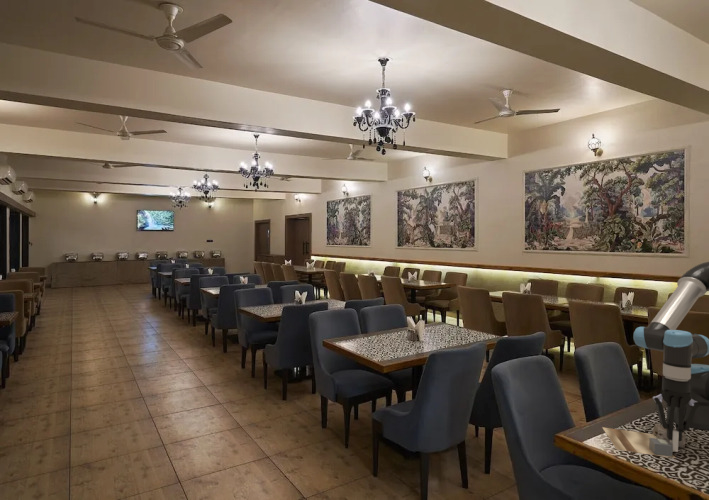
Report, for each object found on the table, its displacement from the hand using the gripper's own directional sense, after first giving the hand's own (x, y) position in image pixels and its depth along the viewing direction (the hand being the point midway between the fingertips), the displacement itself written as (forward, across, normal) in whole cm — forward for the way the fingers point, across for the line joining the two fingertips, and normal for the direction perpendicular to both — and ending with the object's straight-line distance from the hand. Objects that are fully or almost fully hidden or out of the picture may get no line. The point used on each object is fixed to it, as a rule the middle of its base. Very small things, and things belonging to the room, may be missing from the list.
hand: (673, 449), depth 146 cm
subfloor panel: (+2, +9, -7) cm, 11 cm away
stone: (+2, -3, -12) cm, 13 cm away
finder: (+2, +4, 0) cm, 4 cm away
